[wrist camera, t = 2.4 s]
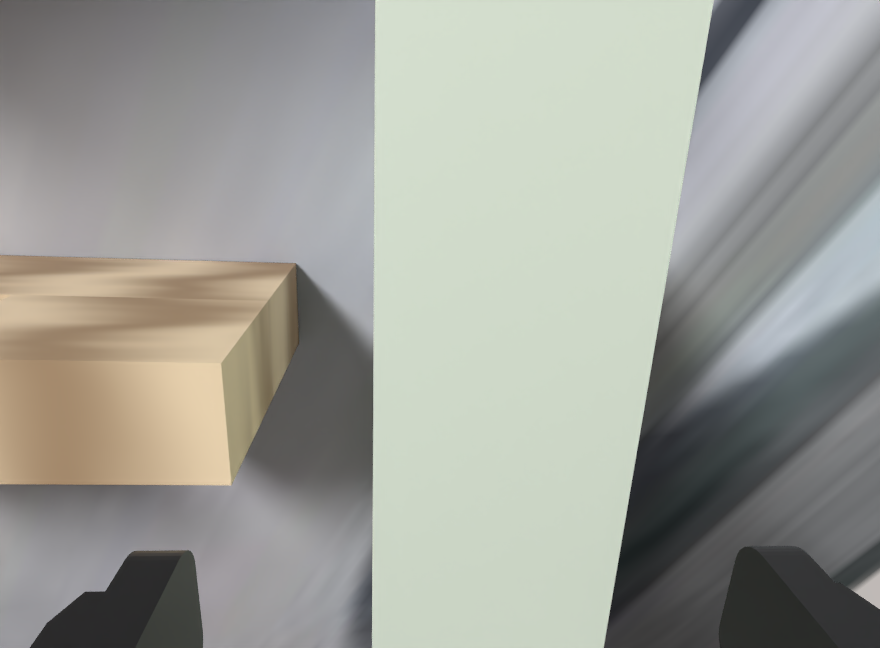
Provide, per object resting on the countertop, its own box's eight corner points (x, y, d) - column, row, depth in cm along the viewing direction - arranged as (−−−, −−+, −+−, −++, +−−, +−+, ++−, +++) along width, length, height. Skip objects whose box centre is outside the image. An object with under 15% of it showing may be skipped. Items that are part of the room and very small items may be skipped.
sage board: (491, 72, 19) (720, -43, 5) (464, 493, 25) (542, 1005, 10) (398, 68, 19) (375, -64, 5) (391, 493, 24) (370, 1013, 10)
